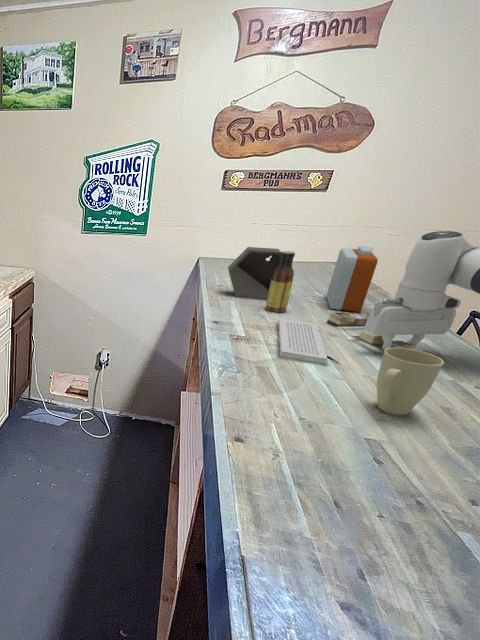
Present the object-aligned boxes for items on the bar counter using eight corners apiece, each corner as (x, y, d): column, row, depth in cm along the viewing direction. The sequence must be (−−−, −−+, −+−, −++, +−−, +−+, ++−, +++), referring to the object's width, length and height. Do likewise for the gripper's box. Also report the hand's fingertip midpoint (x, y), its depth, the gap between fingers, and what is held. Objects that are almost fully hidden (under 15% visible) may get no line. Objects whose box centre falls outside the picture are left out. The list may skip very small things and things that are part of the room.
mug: (354, 394, 100) (373, 344, 95) (410, 403, 96) (432, 351, 92) (369, 418, 91) (390, 363, 86) (432, 429, 87) (458, 372, 82)
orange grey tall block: (360, 313, 153) (381, 252, 145) (329, 309, 157) (348, 249, 149) (353, 300, 168) (372, 243, 160) (325, 297, 172) (342, 241, 164)
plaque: (279, 318, 143) (317, 323, 139) (278, 323, 144) (315, 328, 140) (281, 351, 119) (327, 358, 115) (280, 356, 119) (325, 364, 115)
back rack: (375, 321, 146) (379, 310, 145) (391, 327, 141) (395, 316, 139) (325, 322, 145) (329, 311, 144) (339, 328, 140) (343, 317, 138)
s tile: (397, 348, 122) (401, 339, 121) (413, 355, 118) (416, 346, 117) (381, 348, 122) (384, 339, 121) (396, 355, 118) (399, 346, 117)
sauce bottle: (281, 308, 159) (296, 250, 151) (288, 313, 153) (304, 253, 145) (261, 307, 160) (275, 249, 152) (267, 312, 154) (282, 253, 146)
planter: (217, 282, 173) (262, 237, 162) (217, 278, 179) (259, 234, 168) (253, 310, 171) (301, 267, 160) (251, 305, 178) (297, 263, 167)
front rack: (370, 338, 132) (374, 327, 130) (420, 361, 117) (425, 348, 116) (350, 339, 131) (354, 327, 130) (397, 361, 117) (402, 348, 115)
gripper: (388, 302, 111) (369, 354, 116) (468, 301, 112) (445, 353, 117) (368, 295, 117) (351, 345, 122) (443, 294, 118) (423, 344, 123)
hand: (398, 349), depth 120 cm, fingers closed on s tile, 4 cm apart
